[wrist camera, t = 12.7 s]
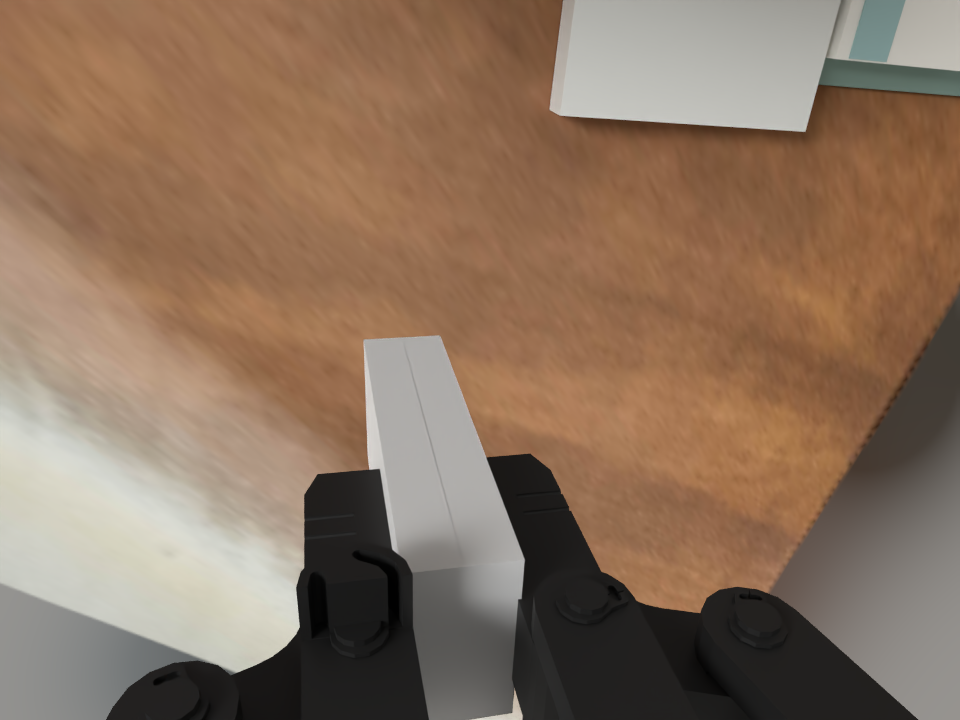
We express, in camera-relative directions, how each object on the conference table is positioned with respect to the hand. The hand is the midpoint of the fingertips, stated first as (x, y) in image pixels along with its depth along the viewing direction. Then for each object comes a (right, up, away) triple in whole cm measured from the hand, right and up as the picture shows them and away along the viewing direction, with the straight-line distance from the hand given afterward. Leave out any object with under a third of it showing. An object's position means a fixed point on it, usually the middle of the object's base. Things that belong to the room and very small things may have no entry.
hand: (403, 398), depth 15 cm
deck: (+13, +21, +26) cm, 36 cm away
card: (+26, +21, +28) cm, 43 cm away
